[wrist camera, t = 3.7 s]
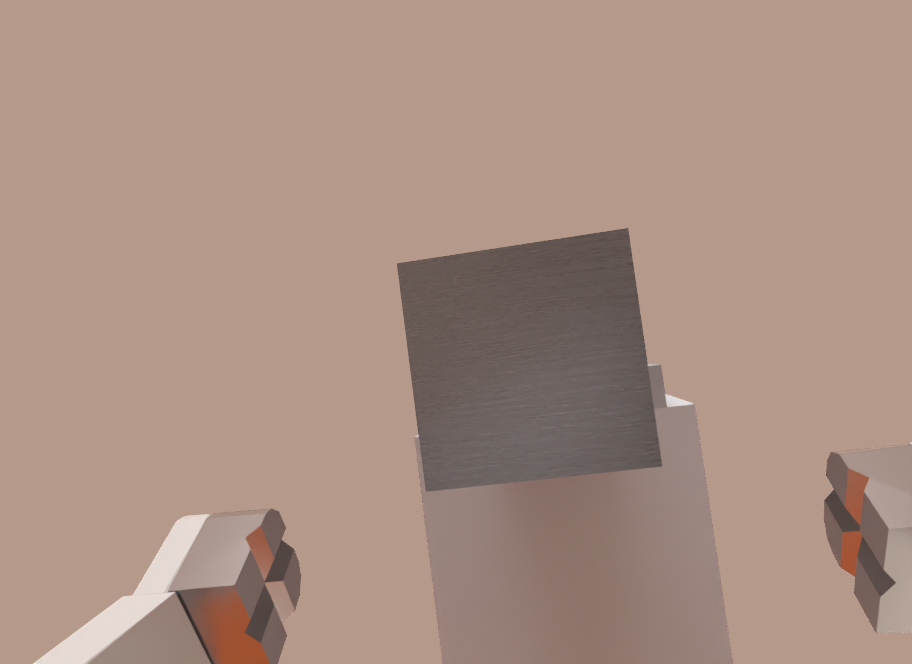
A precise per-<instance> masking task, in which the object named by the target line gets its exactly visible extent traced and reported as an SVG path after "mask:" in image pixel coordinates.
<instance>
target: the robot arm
mask: <svg viewBox="0 0 912 664" xmlns="http://www.w3.org/2000/svg"><path fill="white" fill-rule="evenodd" d="M826 476H827V478H828V479H829V481H830V483H831V484H832V486H833V488H834V490H833V491H832V492H831V494H830V495H829V496H828V497H827V498H826V499H825V500H824V522H825V527H826V533H827V538H828V541H829V544H830V547H831V549H832V552H833V554H834V556H835V558H836V560H837V562H838V564H839V566H840V567H841V568H842V569H844V570H845V571H847V572H849V573H850V574H852V575H853V576H855V588H854V594H855V596H856V597H857V599H858V601H859V603H860V605H861V607H862V608H863V610H864V612H865V614H866V616H867V617H868V619H869V621H870V623H871V625H872V626H873V628H874V630H875V632H876V633H900V632H912V443H908V444H902V445H893V446H884V447H875V448H865V449H856V450H847V451H837V452H831V453H830V456H829V458H828V460H827V470H826ZM285 529H286V527H285V525H284V522H283V520H282V518H281V515H280V513H279V512H278V511H276V510H274V509H262V510H248V511H236V512H223V513H214V514H203V515H191V516H184V517H182V518H181V519H179V520H177V521H176V523H175V524H174V526H173V528H172V529H171V531H170V533H169V535H168V536H167V538H166V540H165V541H164V544H163V545H162V546H161V548H160V550H159V552H158V553H157V555H156V557H155V558H154V560H153V562H152V563H151V565H150V567H149V568H148V570H147V572H146V573H145V575H144V577H143V579H142V580H141V582H140V584H139V585H138V587H137V589H136V591H135V592H134V594H133V595H132V596H123V597H122V598H120V599H119V600H118V601H116V602H115V603H114V604H112V605H111V606H110V607H108V608H107V609H106V610H104V611H103V612H102V613H100V614H99V615H98V616H96V617H95V618H94V619H92V620H91V621H90V622H89V623H87V624H86V625H84V626H83V627H82V628H80V629H79V630H78V631H76V632H75V633H74V634H72V635H71V636H70V637H68V638H67V639H66V640H64V641H63V642H61V643H60V644H59V645H58V646H56V647H55V648H54V649H52V650H51V651H49V652H48V653H47V654H46V655H44V656H43V657H41V658H40V659H39V660H37V661H36V662H35V663H34V664H278V661H279V658H280V655H281V652H282V649H283V646H284V643H285V640H286V637H287V635H286V632H285V630H284V627H283V625H282V623H283V622H284V621H285V620H286V619H287V618H288V617H289V616H290V615H291V614H292V613H293V612H294V611H295V609H296V606H297V602H298V599H299V596H300V582H301V581H300V580H301V574H300V567H299V562H298V559H297V556H296V553H295V550H294V549H293V548H292V547H290V546H289V545H287V544H286V543H285V542H283V541H282V537H283V534H284V532H285Z"/></svg>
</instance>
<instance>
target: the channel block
mask: <svg viewBox="0 0 912 664" xmlns="http://www.w3.org/2000/svg"><path fill="white" fill-rule="evenodd" d="M648 370H649V377H650V384H651V391H652V398H653V405H654V412H655V419H656V426H657V433H658V440H659V446H660V453H661V460H662V467H653V468H644V469H634V470H625V471H616V472H606V473H597V474H588V475H578V476H569V477H560V478H550V479H541V480H532V481H522V482H513V483H504V484H494V485H485V486H476V487H466V488H457V489H448V490H438V491H429V492H426V489H425V482H424V474H423V466H422V458H421V450H420V442H419V435H417V436H416V437H414V439H415V447H416V454H417V463H418V470H419V479H420V487H421V494H422V503H423V511H424V518H425V526H426V534H427V542H428V550H429V558H430V566H431V574H432V582H433V589H434V598H435V606H436V614H437V621H438V630H439V638H440V646H441V654H442V662H443V664H733V660H732V653H731V647H730V640H729V633H728V626H727V620H726V614H725V606H724V599H723V593H722V585H721V579H720V572H719V565H718V558H717V552H716V546H715V538H714V531H713V525H712V518H711V511H710V505H709V498H708V491H707V484H706V477H705V470H704V464H703V458H702V451H701V444H700V436H699V430H698V423H697V416H696V409H695V404H693V403H690V402H687V401H684V400H681V399H678V398H676V397H673V396H670V395H666V394H665V389H664V382H663V376H662V369H661V365H658V364H648Z"/></svg>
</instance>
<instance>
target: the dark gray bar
mask: <svg viewBox="0 0 912 664" xmlns="http://www.w3.org/2000/svg"><path fill="white" fill-rule="evenodd" d="M397 267H398V275H399V282H400V291H401V299H402V307H403V315H404V323H405V330H406V339H407V347H408V355H409V363H410V370H411V378H412V386H413V393H414V402H415V409H416V417H417V426H418V433H419V442H420V450H421V458H422V466H423V474H424V482H425V489H426V492H429V491H438V490H448V489H457V488H466V487H476V486H485V485H494V484H504V483H513V482H522V481H532V480H541V479H550V478H560V477H569V476H578V475H588V474H597V473H606V472H616V471H625V470H634V469H644V468H653V467H662V460H661V453H660V446H659V440H658V433H657V426H656V419H655V412H654V405H653V398H652V391H651V384H650V377H649V370H648V364H647V357H646V350H645V343H644V336H643V329H642V322H641V315H640V308H639V301H638V294H637V288H636V280H635V274H634V267H633V260H632V253H631V246H630V239H629V232H628V228H626V229H620V230H613V231H607V232H600V233H594V234H587V235H581V236H575V237H568V238H561V239H554V240H548V241H542V242H535V243H528V244H522V245H516V246H509V247H503V248H496V249H489V250H483V251H476V252H469V253H463V254H456V255H450V256H444V257H437V258H430V259H424V260H417V261H411V262H405V263H398V264H397Z"/></svg>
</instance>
